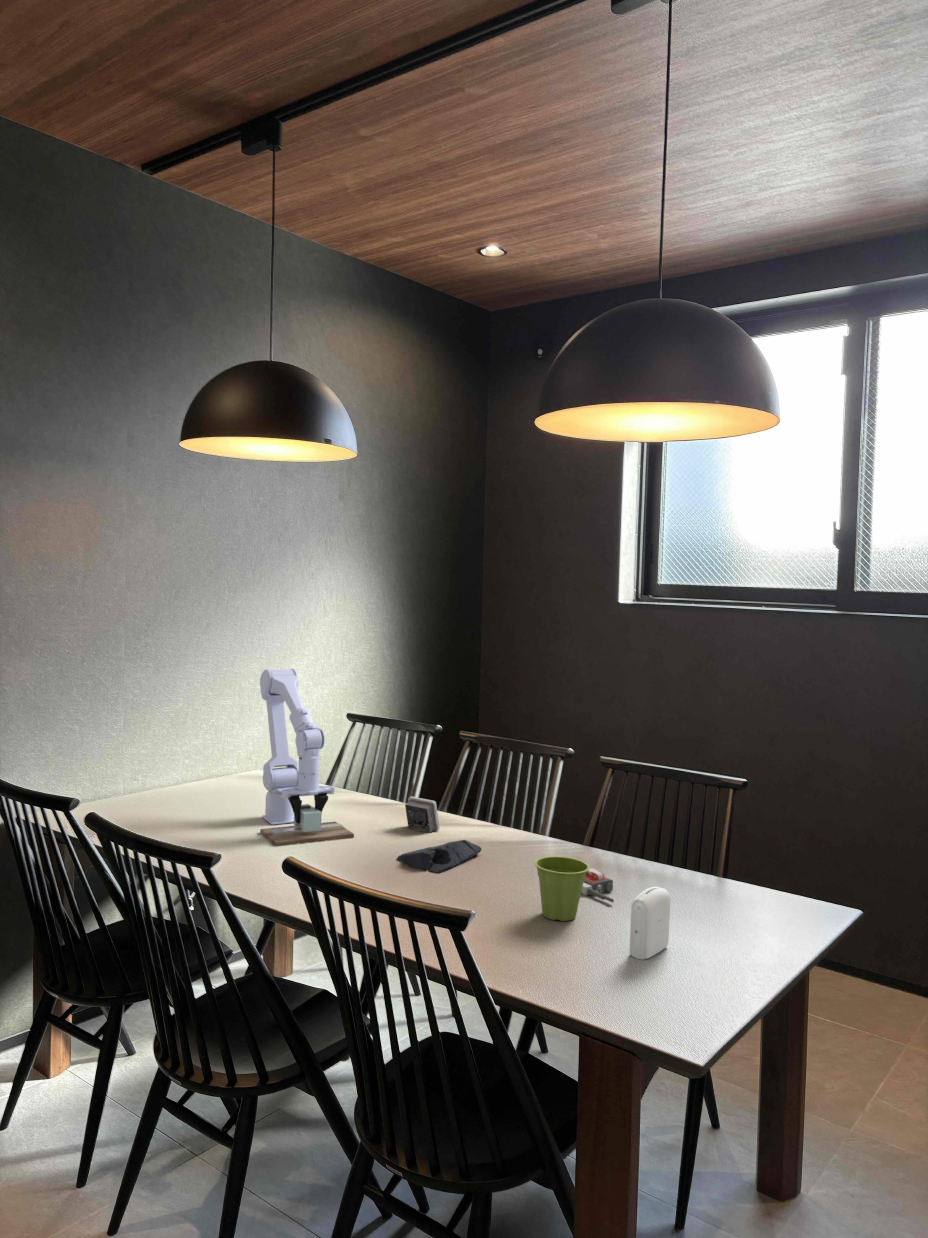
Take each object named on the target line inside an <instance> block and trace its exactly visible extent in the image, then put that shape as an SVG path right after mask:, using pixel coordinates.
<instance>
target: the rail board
mask: <svg viewBox="0 0 928 1238" xmlns="http://www.w3.org/2000/svg"><path fill="white" fill-rule="evenodd" d="M259 830H260V834H261V835H262V836H264V837H265V838H266V839H267V840H268V841H269V842H270V843H272V844H273V845H274V846H275V847H279V846H280V847H281V846H289V845H290V844H291V845H297V843H300V844H306V843H305V842H309V843H316V842H315V841H318V842H325V840H327V841H336V840H342V839H343V840H345V839H352V838H355V834H354V833H353V832H352V831H350V830H348V829H347V828H346V827H344V825H343V824H341V823H340V822H339V823H338V822H337V821H329V822H328V821H327V822H321V830H320V831H311V832H303V831H302V826H295V825H287V826H278V827H268V828H267V827H266V828H260V829H259ZM334 839H335V840H334Z"/></svg>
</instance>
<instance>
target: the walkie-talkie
mask: <svg viewBox="0 0 928 1238" xmlns="http://www.w3.org/2000/svg"><path fill="white" fill-rule="evenodd" d="M613 884H614V880H613V879H610V878H608V877H606V876H605V874H604V873H603V871H602V872H601V871H599V870H597V869H595V868H591V867H590V869H589V870H588V871H587V873H586V877H585V880H584V882H583V886H582V891H581V894H582V895H583V896H586V897H587V896H594V897H596V898H598V899H600V900H604V901H605V900H606V901H608V902H610V903H614V901H615V900H614V899H613V898H612V897H610V896H607V895H605V894H603V893H610V892H612V891H613V889H614V888H613V887H614V885H613Z"/></svg>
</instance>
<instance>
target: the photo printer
mask: <svg viewBox="0 0 928 1238" xmlns="http://www.w3.org/2000/svg"><path fill="white" fill-rule="evenodd" d="M630 910H631V911H630V930H629V931H630V933H629V954H630V955H631V957H633V958H634V959H638V960H642V961H644V960H648V959H649V958H651V957H653V956H655V955H656V954H659V953H660V952H661V951H664V950H665V949H666V948H667V947H668V946H669V942H670V941H669V938H670V936H669V935H670V912H671V895H670V893H669V892H668V890H667V889H666V888H664V887H663V888H662V887H660V886H651V887H648V888H647V889H644V890H643V891H641V892H640V893H639V894H638V895H637V896H636V897H635V898H634V900H633V901H632V903H631V908H630Z"/></svg>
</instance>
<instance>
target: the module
mask: <svg viewBox="0 0 928 1238" xmlns="http://www.w3.org/2000/svg"><path fill="white" fill-rule="evenodd" d="M322 812H323V811H322ZM322 812H321V811H319V810H317V809H316V808H315V806H313V805H311V804H309V803H305V804H301V811H300V823H299V824H297V823H296V822H295V816H294V815H293V817H294V823H293V826H302V831H303V832H311V831H320V830H321V823H322V814H323V813H322Z"/></svg>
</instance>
